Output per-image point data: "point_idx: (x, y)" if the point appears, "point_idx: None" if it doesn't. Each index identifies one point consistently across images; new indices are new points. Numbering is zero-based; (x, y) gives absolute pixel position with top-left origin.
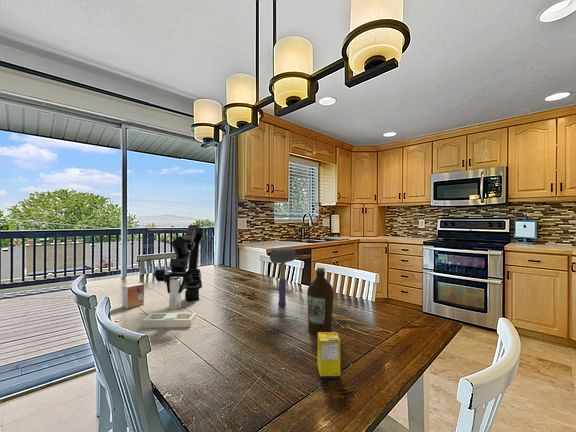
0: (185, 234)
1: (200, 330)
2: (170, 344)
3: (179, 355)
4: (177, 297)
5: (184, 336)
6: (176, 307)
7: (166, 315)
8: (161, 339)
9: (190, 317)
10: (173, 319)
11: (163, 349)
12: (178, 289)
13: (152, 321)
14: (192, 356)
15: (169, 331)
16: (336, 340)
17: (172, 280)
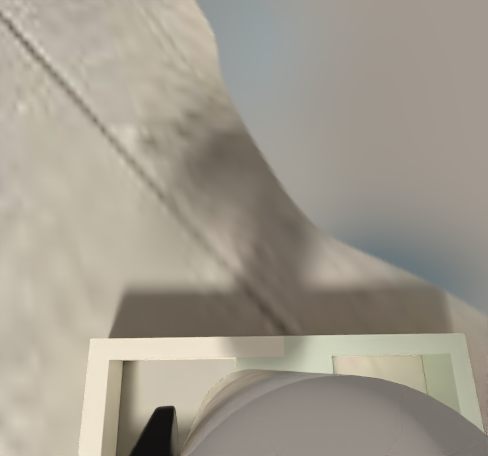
0: None
1: (28, 285)
2: (167, 120)
3: (96, 31)
4: (211, 393)
5: (116, 203)
6: (220, 380)
7: None
8: (235, 173)
9: (102, 393)
10: (233, 346)
11: (184, 79)
12: (195, 421)
13: (386, 334)
14: (37, 20)
15: (230, 274)
16: None
17: (372, 380)
